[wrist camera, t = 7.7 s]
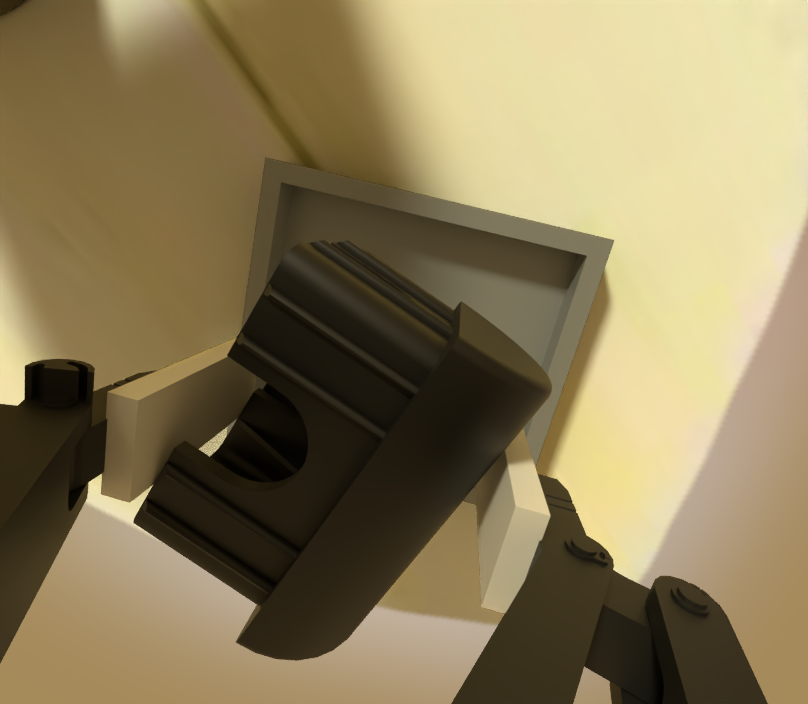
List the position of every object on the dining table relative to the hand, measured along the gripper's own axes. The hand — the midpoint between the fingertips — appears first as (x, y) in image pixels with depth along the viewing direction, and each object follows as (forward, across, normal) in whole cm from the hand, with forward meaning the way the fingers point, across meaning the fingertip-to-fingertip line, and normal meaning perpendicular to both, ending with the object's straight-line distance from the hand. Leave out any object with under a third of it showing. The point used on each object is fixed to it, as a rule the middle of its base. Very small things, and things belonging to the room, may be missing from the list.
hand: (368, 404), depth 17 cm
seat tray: (+11, 0, 0) cm, 11 cm away
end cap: (+1, 0, 0) cm, 1 cm away
